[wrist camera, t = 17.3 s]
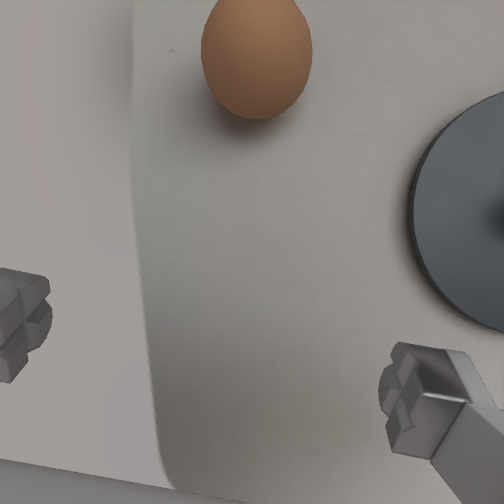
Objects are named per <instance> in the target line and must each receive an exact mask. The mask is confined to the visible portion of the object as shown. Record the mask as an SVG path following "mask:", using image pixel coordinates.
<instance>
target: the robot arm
mask: <svg viewBox="0 0 504 504" xmlns="http://www.w3.org/2000/svg"><path fill="white" fill-rule="evenodd" d="M49 293H50V286H49V280H48V279H47V278H46V277H44V276H40V275H35V274H30V273H26V272H21V271H15V270H10V269H6V268H0V382H4V383H11V382H12V381H13V380H14V378H15V377H16V376H17V375H18V374H19V372H20V371H21V370H22V369H23V367H24V366H25V365H26V364H27V362H28V355H27V353H28V352H30V351H32V350H35V349H37V348H39V347H40V346H41V344H42V343H43V342H44V340H45V339H46V337H47V335H48V333H49V330H50V328H51V323H52V308H51V306H50V305H49V304H48V303H47V301H46V300H45V298H46V297H47V296H48V294H49ZM390 355H391V358H392V361H393V363H392V364H391V365H389V366H388V367H386V368H384V370H383V373H382V375H381V378H380V382H379V390H378V394H379V403H380V407H381V410H382V411H383V412H384V413H385V414H386V415H387V416H388V417H389V419H388V421H387V423H386V425H385V427H386V431H387V435H388V439H389V443H390V447H391V451H392V452H393V453H398V454H402V455H407V456H412V457H417V458H422V459H426V460H431V461H430V463H431V464H432V465H433V467H434V468H435V469H436V471H437V472H438V473H439V474H440V476H441V477H442V478H443V480H444V481H445V482H446V483H447V485H448V486H449V487H450V488H451V490H452V491H453V492H454V494H455V495H456V496H457V497H458V499H459V500H460V501H461V503H462V504H504V409H500V408H498V407H497V405H496V403H495V401H494V400H493V398H492V396H491V394H490V393H489V391H488V389H487V387H486V386H485V384H484V382H483V380H482V379H481V377H480V375H479V373H478V371H477V370H476V368H475V366H474V364H473V363H472V361H471V359H470V357H469V356H468V355H467V354H466V353H464V352H461V351H454V350H448V349H437V348H431V347H426V346H420V345H415V344H409V343H403V342H398V343H397V344H396V345H395V346H394V348H393V350H392V352H391V354H390ZM0 504H251V503H246V502H240V501H235V500H229V499H223V498H218V497H212V496H207V495H201V494H195V493H190V492H184V491H179V490H173V489H168V488H162V487H156V486H151V485H145V484H139V483H134V482H128V481H123V480H117V479H112V478H105V477H100V476H95V475H89V474H83V473H78V472H72V471H67V470H61V469H55V468H50V467H44V466H39V465H33V464H27V463H22V462H16V461H10V460H5V459H0Z"/></svg>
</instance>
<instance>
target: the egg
mask: <svg viewBox="0 0 504 504" xmlns="http://www.w3.org/2000/svg"><path fill="white" fill-rule="evenodd" d="M201 59H202V65H203V70H204V74H205V77H206V80H207V83H208V86H209V88H210V90H211V91H212V93H213V95H214V96H215V98H216V99H217V100H218V101H219V102H220V103H221V104H222V105H223V106H224V107H225V108H226V109H227V110H229V111H230V112H232V113H233V114H235V115H238V116H241V117H243V118H246V119H267V118H271V117H274V116H277V115H279V114H280V113H282V112H284V111H285V110H286V109H287V108H289V107H290V106H291V105H292V104H293V103H294V102H295V101H296V100H297V98H298V97H299V96H300V94H301V93H302V91H303V90H304V87H305V85H306V83H307V81H308V77H309V73H310V69H311V63H312V43H311V36H310V29H309V27H308V24H307V22H306V19H305V17H304V16H303V14H302V13H301V11H300V10H299V8H298V6H297V5H296V3H295V2H294V0H219V1H218V2H217V3H216V5H215V6H214V8H213V9H212V11H211V13H210V16H209V18H208V20H207V22H206V24H205V27H204V31H203V36H202V40H201Z"/></svg>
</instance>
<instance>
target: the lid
mask: <svg viewBox="0 0 504 504" xmlns="http://www.w3.org/2000/svg"><path fill="white" fill-rule="evenodd" d="M409 220H410V231H411V236H412V241H413V245H414V249H415V252H416V254H417V257H418V260H419V262H420V265H421V266H422V268H423V270H424V272H425V274H426V276H427V277H428V279H429V280H430V282H431V283H432V284H433V286H434V287H435V289H436V290H437V291H438V292H439V293H440V294H441V295H442V296H443V297H444V299H445V300H446V301H447V302H448V303H450V304H451V305H452V306H453V307H455V308H456V309H457V310H458V311H459V312H461V313H462V314H464V315H466V316H467V317H469V318H471V319H472V320H474V321H476V322H478V323H480V324H483V325H485V326H487V327H489V328H492V329H495V330H498V331H501V332H504V92H501V93H498V94H496V95H493V96H491V97H488V98H486V99H484V100H482V101H481V102H479V103H477V104H475V105H473V106H472V107H470V108H469V109H467V110H466V111H465V112H463V113H462V114H460V115H459V116H458V117H456V118H455V119H454V120H453V121H452V122H451V123H449V124H448V125H447V126H446V127H445V128H444V129H443V130H442V131H441V133H440V134H439V135H438V136H437V137H436V139H435V140H434V141H433V142H432V144H431V145H430V147H429V149H428V150H427V152H426V153H425V155H424V157H423V159H422V161H421V163H420V166H419V168H418V170H417V173H416V176H415V179H414V183H413V186H412V192H411V198H410V210H409Z"/></svg>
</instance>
